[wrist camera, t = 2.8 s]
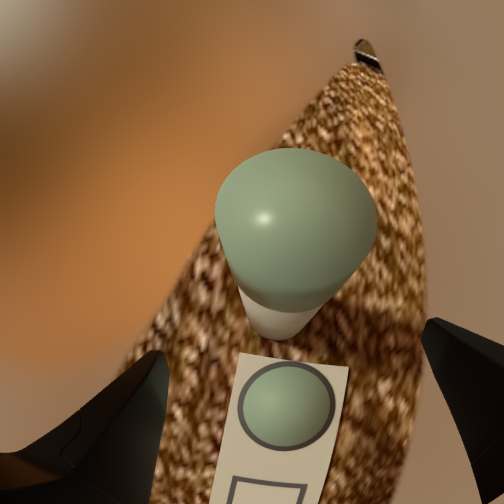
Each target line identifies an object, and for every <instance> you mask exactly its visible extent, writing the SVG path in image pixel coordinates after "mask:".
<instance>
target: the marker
mask: <svg viewBox="0 0 504 504" xmlns="http://www.w3.org/2000/svg"><path fill="white" fill-rule="evenodd" d="M215 220H216V226H217V230H218V233H219V236H220V239H221V242H222V246H223V249H224V252H225V255H226V258H227V261H228V264H229V268H230V271H231V273H232V276H233V278H234V280H235V282H236V284H237V285H238V288H239V291H240V295H241V298H242V301H243V305H244V308H245V311H246V314H247V318H248V320H249V323H250V325H251V327H252V328H253V329H254V330H255V332H257V333H258V334H259V335H260V336H262V337H264V338H266V339H269V340H275V341H280V340H286V339H289V338H291V337H293V336H295V335H296V334H298V333H299V332H300V331H301V330H302V329H303V327H304V326H305V325H306V324H307V323H308V322H309V321H310V320H311V318H312V317H313V316H314V315H315V314H316V313H317V312H318V310H319V309H320V308H321V307H322V306H323V304H324V303H326V302H327V301H328V300H330V299H331V298H332V297H333V296H334V295H335V294H336V293H337V292H338V291H339V290H340V289H341V287H342V286H343V285H344V284H345V283H346V281H347V280H348V279H349V278H350V277H351V276H352V274H353V273H354V272H355V271H356V269H357V268H358V267H359V266H360V265H361V263H362V262H363V261H364V260H365V258H366V257H367V255H368V254H369V252H370V250H371V248H372V246H373V244H374V240H375V237H376V232H377V214H376V208H375V205H374V202H373V199H372V197H371V195H370V193H369V191H368V189H367V188H366V186H365V184H364V183H363V182H362V181H361V179H360V178H359V177H358V176H357V175H356V174H355V173H354V172H353V171H352V170H351V169H349V168H348V167H347V166H345V165H344V164H343V163H341V162H339V161H338V160H336V159H334V158H332V157H330V156H328V155H325V154H322V153H319V152H316V151H312V150H307V149H300V148H282V149H275V150H270V151H266V152H263V153H260V154H257V155H255V156H253V157H251V158H249V159H247V160H246V161H244V162H243V163H241V164H240V165H239V166H237V167H236V168H235V169H234V170H233V171H232V172H231V173H230V174H229V175H228V177H227V178H226V180H225V181H224V183H223V185H222V186H221V189H220V190H219V194H218V197H217V200H216V206H215Z"/></svg>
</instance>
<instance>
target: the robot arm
mask: <svg viewBox="0 0 504 504" xmlns="http://www.w3.org/2000/svg"><path fill="white" fill-rule="evenodd" d="M421 342H422V345H423V348H424V350H425V353H426V355H427V358H428V361H429V363H430V366H431V369H432V371H433V374H434V376H435V378H436V381H437V383H438V385H439V387H440V389H441V391H442V394H443V396H444V398H445V400H446V402H447V405H448V407H449V409H450V411H451V414H452V416H453V419H454V421H455V423H456V426H457V428H458V431H459V433H460V436H461V438H462V441H463V444H464V447H465V449H466V452H467V455H468V458H469V461H470V463H471V467H472V470H473V473H474V476H475V480H476V483H477V487H478V490H479V494H480V498H481V501H482V504H488V503H490V502H491V501H493V500H494V499H496V498H497V497H499V496H500V495H502V494H503V493H504V346H503V345H501V344H499V343H496V342H494V341H492V340H489V339H487V338H485V337H483V336H480V335H478V334H475V333H473V332H471V331H469V330H466V329H464V328H462V327H459V326H457V325H455V324H452V323H450V322H448V321H445V320H443V319H441V318H438V317H435V318H431V319H428V320H427V322H426V324H425V328H424V331H423V334H422V338H421ZM169 377H170V371H169V367H168V364H167V361H166V359H165V356H164V353H163V352H162V351H161V350H150V351H148V352H147V353H146V354H145V355H144V356H142V357H141V358H140V359H139V360H138V361H136V362H135V363H134V364H133V365H132V366H130V367H129V368H128V369H127V370H126V371H125V372H123V373H122V374H121V375H120V376H119V377H117V378H116V379H115V380H114V381H113V382H111V383H110V384H109V385H108V386H107V387H105V388H104V389H103V390H102V391H101V392H99V393H98V394H97V395H96V396H95V397H93V398H92V399H91V400H90V401H89V402H87V403H86V404H85V405H84V406H83V407H81V408H80V410H78V411H77V412H75V413H74V414H73V415H72V416H70V417H69V418H68V419H67V420H65V421H64V422H63V423H61V424H60V425H59V426H57V427H56V428H54V429H53V430H51V431H50V432H49V433H47V434H46V435H44V436H43V437H41V438H39V439H38V440H36V441H35V442H33V443H32V444H30V445H28V446H27V447H26V448H24V449H22V450H19V451H17V452H11V453H0V504H149V502H150V495H151V489H152V483H153V478H154V472H155V466H156V461H157V456H158V450H159V445H160V440H161V435H162V430H163V426H164V421H165V415H166V408H167V397H168V386H169Z"/></svg>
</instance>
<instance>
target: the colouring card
mask: <svg viewBox="0 0 504 504" xmlns="http://www.w3.org/2000/svg"><path fill="white" fill-rule="evenodd" d="M348 369H349V367H342V366H331V365H321V364H312V363H304V362H296V361H289V360H282V359H275V358H269V357H263V356H257V355H251V354H246V353H240V355H239V360H238V365H237V370H236V375H235V380H234V385H233V390H232V395H231V400H230V405H229V410H228V415H227V420H226V425H225V429H224V434H223V439H222V444H221V449H220V454H219V458H218V463H217V468H216V473H215V478H214V482H213V487H212V492H211V497H210V501H209V504H318V501H319V498H320V495H321V491H322V488H323V485H324V482H325V478H326V475H327V471H328V467H329V464H330V460H331V456H332V452H333V448H334V444H335V439H336V435H337V430H338V426H339V421H340V416H341V411H342V405H343V400H344V394H345V388H346V382H347V376H348Z"/></svg>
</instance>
